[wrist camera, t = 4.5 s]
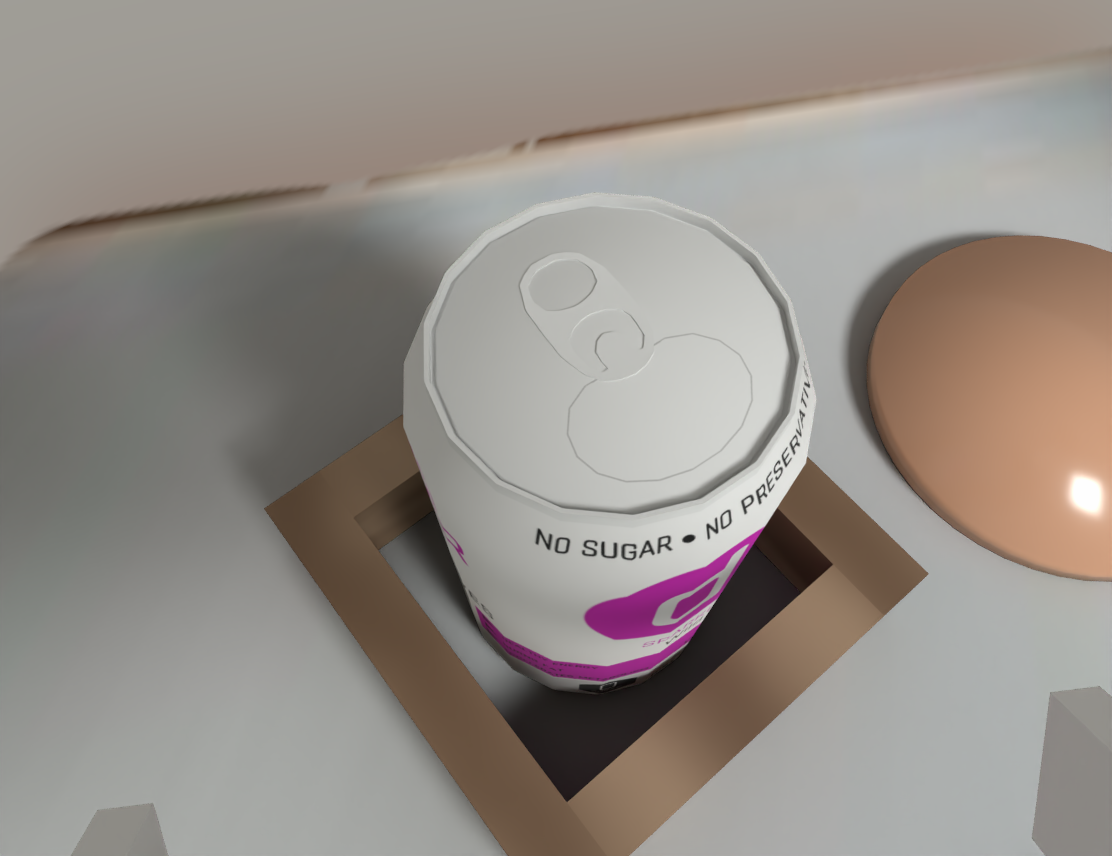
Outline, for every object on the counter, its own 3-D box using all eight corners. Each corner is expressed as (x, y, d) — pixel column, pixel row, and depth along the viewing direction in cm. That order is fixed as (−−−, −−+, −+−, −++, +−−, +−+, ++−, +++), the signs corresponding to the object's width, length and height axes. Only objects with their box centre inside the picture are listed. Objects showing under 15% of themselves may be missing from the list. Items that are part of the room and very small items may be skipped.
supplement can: (756, 603, 28) (934, 389, 15) (553, 750, 26) (549, 654, 13) (614, 425, 31) (657, 112, 18) (422, 544, 29) (309, 293, 16)
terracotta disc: (1018, 197, 36) (1029, 180, 35) (1326, 424, 31) (1349, 411, 30) (789, 377, 32) (796, 363, 31) (1101, 667, 27) (1120, 661, 27)
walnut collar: (609, 324, 33) (614, 270, 30) (887, 603, 28) (928, 573, 25) (295, 544, 29) (264, 508, 26) (556, 913, 24) (556, 924, 21)
